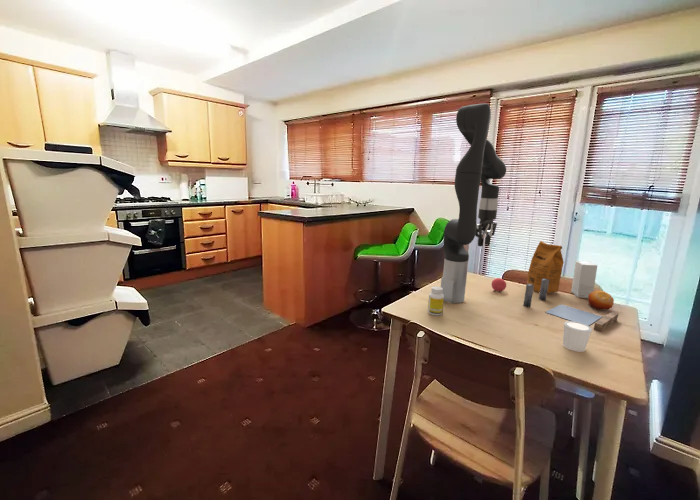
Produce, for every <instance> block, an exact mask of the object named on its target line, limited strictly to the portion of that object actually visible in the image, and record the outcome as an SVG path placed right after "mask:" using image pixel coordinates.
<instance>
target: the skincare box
mask: <svg viewBox="0 0 700 500" xmlns="http://www.w3.org/2000/svg"><path fill="white" fill-rule="evenodd" d="M597 271H598V264H595V263H593V262H591V261H584V260H576V261H575V264H574V271H573V278H572V283H571V284H572V285H571V290H570V291H571V293H572V294H573V295H575V297H577V298H580V299H581V298H583V299H588V296H589V294H590V293H592V292H593V291H595V290H594V289H595V285H596V278H597Z"/></svg>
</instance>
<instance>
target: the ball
mask: <svg viewBox="0 0 700 500" xmlns="http://www.w3.org/2000/svg"><path fill="white" fill-rule="evenodd" d="M491 288H492V290H493V291H495V292H504V291H505V290H506V288H507V282H506V281H505V280H504V279H503V278H501V277H497V278H494V279H493V280H492V281H491Z"/></svg>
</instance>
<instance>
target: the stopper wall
mask: <svg viewBox="0 0 700 500" xmlns="http://www.w3.org/2000/svg"><path fill="white" fill-rule="evenodd" d="M618 317H619V314H618V313H616V312H613V311H611V312H609V313H608V314H606V315H604V316H602V318H600V319H599V320H597V321H596V322H594V326H593V331H597V332H602V331H604V330H605V329H607V328H608V327H609V325H610V326H611V325H612V324H614V323H615V322H617V321H618ZM616 320H617V321H616ZM613 322H614V323H613Z"/></svg>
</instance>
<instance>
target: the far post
mask: <svg viewBox="0 0 700 500" xmlns="http://www.w3.org/2000/svg"><path fill="white" fill-rule="evenodd" d="M548 285H549V279H546V278H542V282H541V288H540V293H539V295H538V300H539V301H542V302H543V301H545V302H546V300H547V295H548V294H547V291H548Z"/></svg>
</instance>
